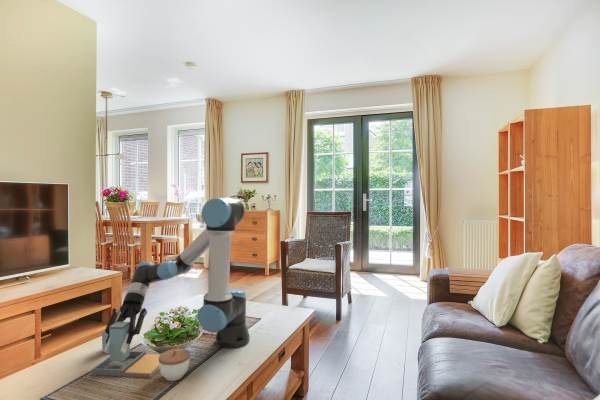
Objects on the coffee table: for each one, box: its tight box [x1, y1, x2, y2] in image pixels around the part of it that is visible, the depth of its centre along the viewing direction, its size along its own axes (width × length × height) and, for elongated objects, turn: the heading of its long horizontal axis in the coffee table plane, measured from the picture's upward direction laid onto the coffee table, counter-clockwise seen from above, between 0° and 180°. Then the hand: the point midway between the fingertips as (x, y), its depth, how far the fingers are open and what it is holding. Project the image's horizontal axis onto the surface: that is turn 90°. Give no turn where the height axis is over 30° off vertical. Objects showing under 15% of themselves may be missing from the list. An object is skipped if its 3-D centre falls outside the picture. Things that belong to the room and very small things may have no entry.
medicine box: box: [101, 330, 108, 354], centre depth 145 cm, size 8×4×9 cm, turn 168°
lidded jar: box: [159, 348, 191, 382], centre depth 123 cm, size 11×11×9 cm
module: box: [109, 321, 131, 362], centre depth 131 cm, size 5×5×13 cm
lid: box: [121, 353, 161, 379], centre depth 130 cm, size 11×16×1 cm
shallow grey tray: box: [91, 350, 147, 377], centre depth 131 cm, size 12×16×2 cm
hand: (114, 352), depth 127 cm, fingers closed on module, 5 cm apart
